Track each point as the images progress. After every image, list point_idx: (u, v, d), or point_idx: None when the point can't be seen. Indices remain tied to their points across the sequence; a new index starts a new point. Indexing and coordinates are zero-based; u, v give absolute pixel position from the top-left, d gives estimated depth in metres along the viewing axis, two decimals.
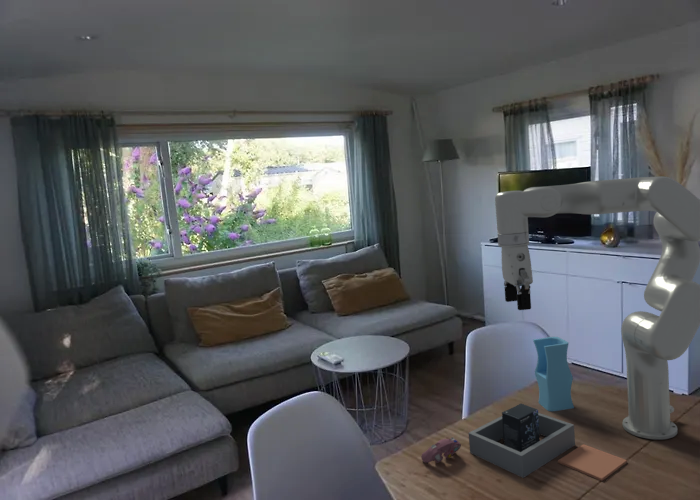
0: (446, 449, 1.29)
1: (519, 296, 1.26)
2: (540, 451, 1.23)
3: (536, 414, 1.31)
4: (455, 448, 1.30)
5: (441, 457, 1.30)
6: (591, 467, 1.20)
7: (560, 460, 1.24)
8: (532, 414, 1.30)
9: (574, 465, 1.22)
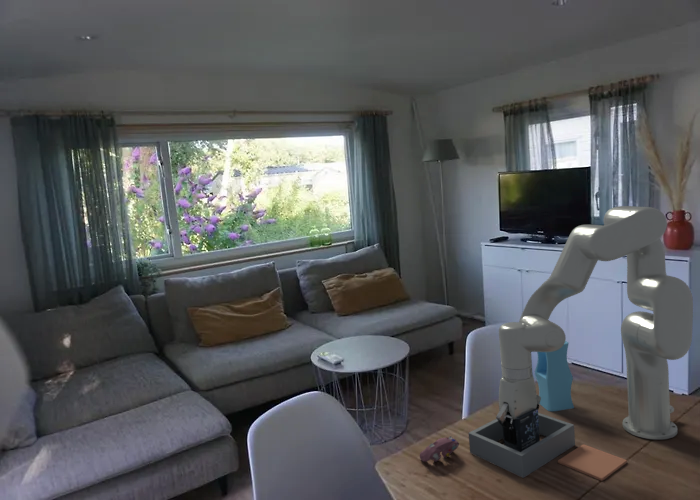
0: (444, 447, 1.30)
1: None
2: (540, 451, 1.23)
3: (536, 414, 1.31)
4: (453, 447, 1.31)
5: (439, 456, 1.30)
6: (591, 467, 1.20)
7: (560, 460, 1.24)
8: (532, 414, 1.30)
9: (574, 465, 1.22)
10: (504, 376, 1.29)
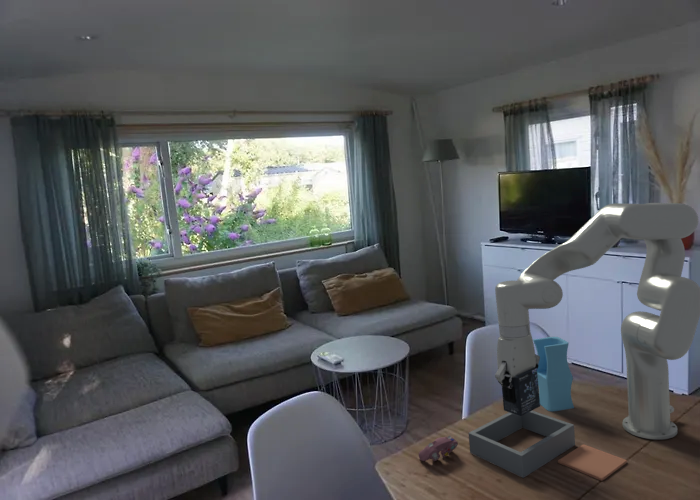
0: (443, 447, 1.30)
1: None
2: (540, 451, 1.23)
3: (535, 373, 1.29)
4: (452, 446, 1.31)
5: (438, 455, 1.31)
6: (591, 467, 1.20)
7: (560, 460, 1.24)
8: (531, 373, 1.29)
9: (574, 465, 1.22)
10: (502, 335, 1.28)
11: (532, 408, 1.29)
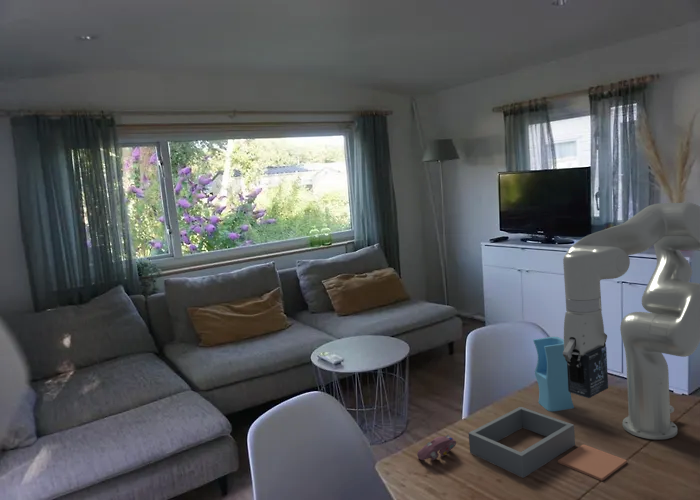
0: (442, 446, 1.31)
1: None
2: (540, 451, 1.23)
3: (604, 351, 1.19)
4: (450, 445, 1.32)
5: (437, 454, 1.31)
6: (591, 467, 1.20)
7: (560, 460, 1.24)
8: (600, 351, 1.18)
9: (574, 465, 1.22)
10: (570, 309, 1.18)
11: (600, 390, 1.19)
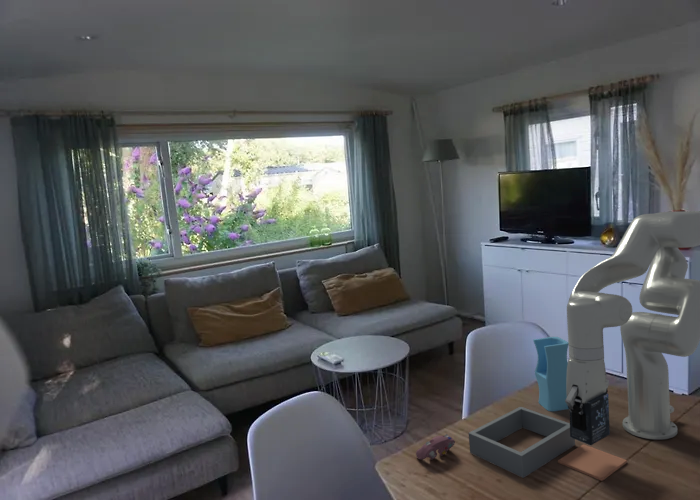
0: (440, 445, 1.31)
1: None
2: (540, 451, 1.23)
3: (606, 398, 1.20)
4: (449, 445, 1.32)
5: (435, 454, 1.32)
6: (591, 467, 1.20)
7: (560, 460, 1.24)
8: (602, 398, 1.19)
9: (574, 465, 1.22)
10: (573, 357, 1.19)
11: (602, 436, 1.20)
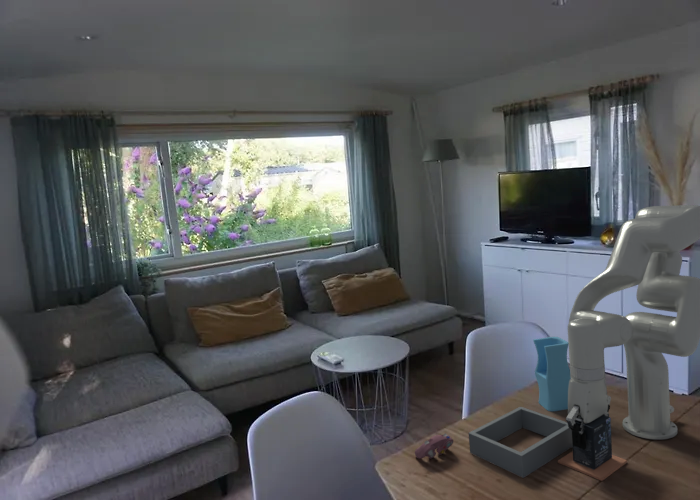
0: (439, 444, 1.32)
1: None
2: (540, 451, 1.23)
3: (609, 422, 1.21)
4: (448, 444, 1.33)
5: (434, 453, 1.32)
6: None
7: (560, 460, 1.24)
8: (605, 423, 1.20)
9: (574, 465, 1.22)
10: (574, 377, 1.19)
11: (605, 460, 1.21)
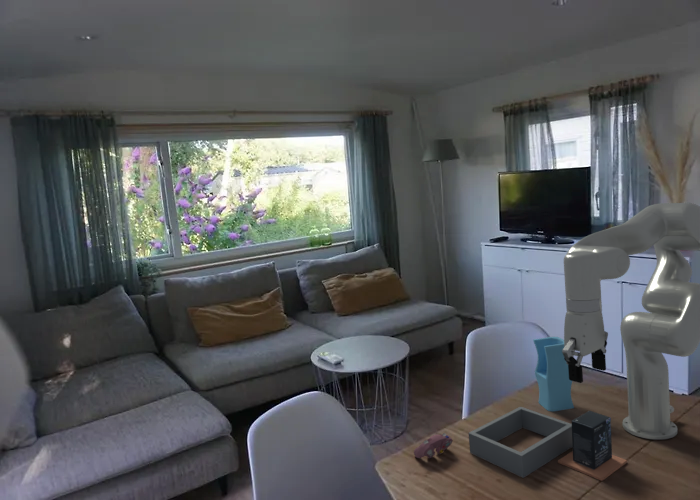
0: (438, 444, 1.32)
1: None
2: (540, 451, 1.23)
3: (609, 422, 1.21)
4: (447, 443, 1.33)
5: (433, 452, 1.32)
6: None
7: (560, 460, 1.24)
8: (605, 423, 1.20)
9: (574, 465, 1.22)
10: (570, 309, 1.18)
11: (605, 460, 1.21)
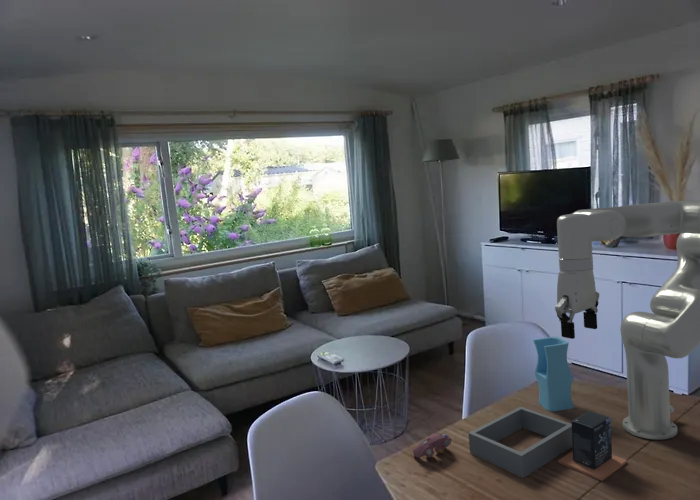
0: (437, 444, 1.32)
1: None
2: (540, 451, 1.23)
3: (609, 422, 1.21)
4: (446, 443, 1.33)
5: (432, 452, 1.33)
6: None
7: (560, 460, 1.24)
8: (605, 423, 1.20)
9: (574, 465, 1.22)
10: (563, 269, 1.23)
11: (605, 460, 1.21)
